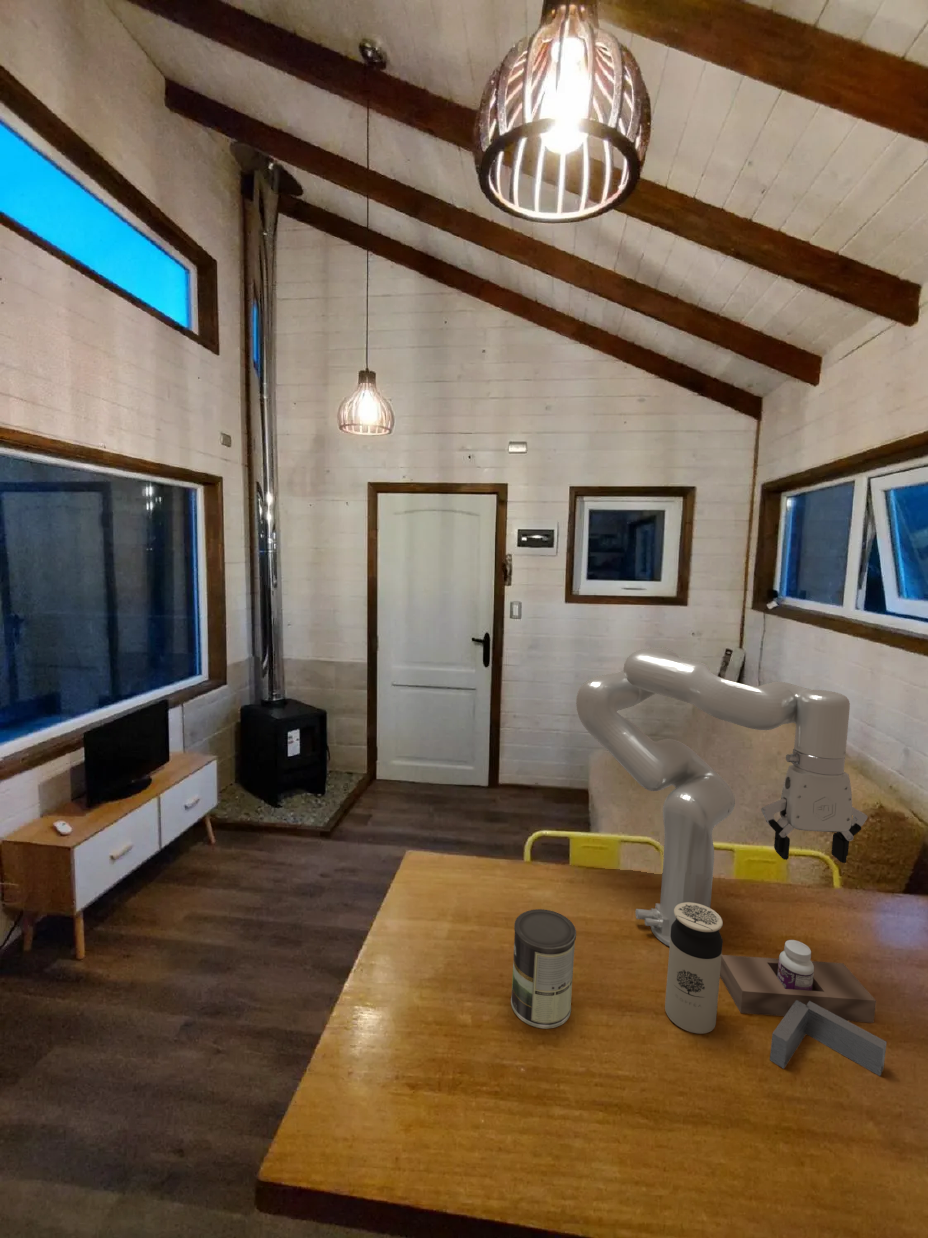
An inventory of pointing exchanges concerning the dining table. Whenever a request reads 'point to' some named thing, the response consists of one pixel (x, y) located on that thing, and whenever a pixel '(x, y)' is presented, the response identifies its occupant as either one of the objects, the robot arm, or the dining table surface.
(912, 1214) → the dining table surface
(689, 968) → the travel mug
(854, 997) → the wooden block with hole
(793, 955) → the pill bottle
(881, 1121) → the dining table surface
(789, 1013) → the v block
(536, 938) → the coffee can
